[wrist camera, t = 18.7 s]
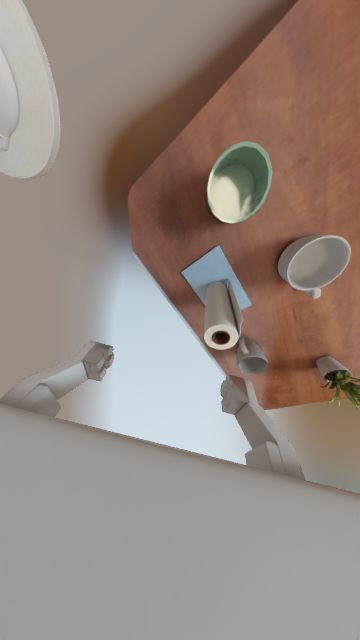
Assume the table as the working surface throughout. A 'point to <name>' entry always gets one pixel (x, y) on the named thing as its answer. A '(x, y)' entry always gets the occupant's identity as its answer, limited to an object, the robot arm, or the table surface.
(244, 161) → the sage green pencil cup
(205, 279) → the mat
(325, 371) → the house plant
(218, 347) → the paper towel roll
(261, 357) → the mug
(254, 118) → the table surface
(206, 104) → the table surface
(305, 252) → the teacup
